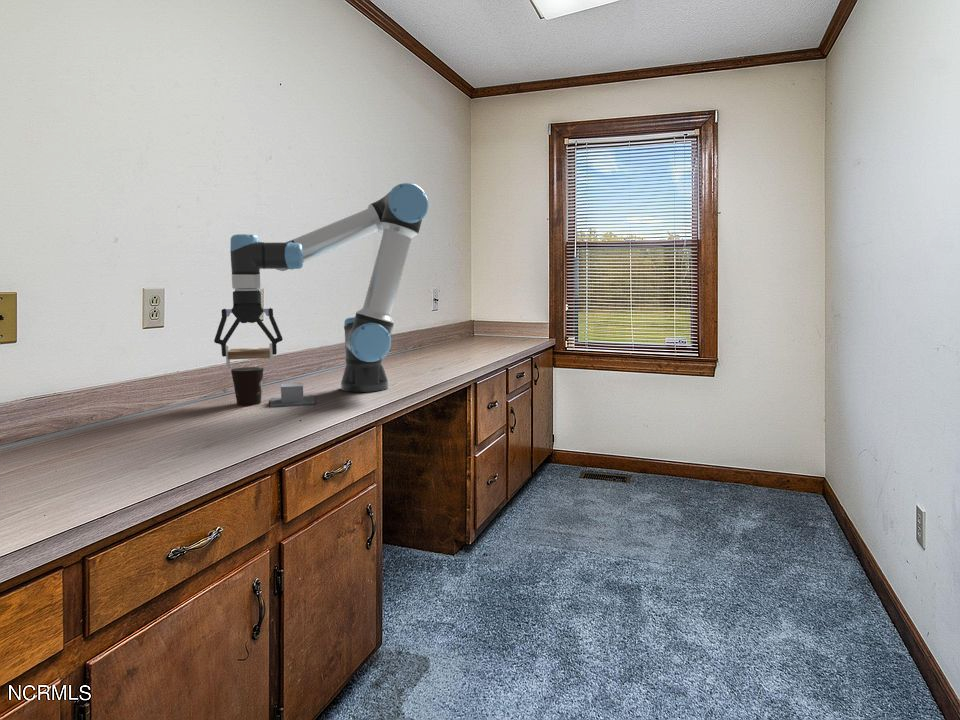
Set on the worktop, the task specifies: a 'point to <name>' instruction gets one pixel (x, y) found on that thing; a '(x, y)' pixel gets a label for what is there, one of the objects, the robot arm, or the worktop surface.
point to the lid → (249, 353)
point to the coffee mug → (248, 385)
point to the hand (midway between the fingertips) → (250, 367)
